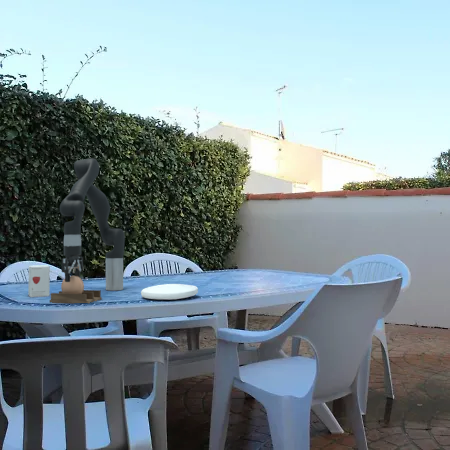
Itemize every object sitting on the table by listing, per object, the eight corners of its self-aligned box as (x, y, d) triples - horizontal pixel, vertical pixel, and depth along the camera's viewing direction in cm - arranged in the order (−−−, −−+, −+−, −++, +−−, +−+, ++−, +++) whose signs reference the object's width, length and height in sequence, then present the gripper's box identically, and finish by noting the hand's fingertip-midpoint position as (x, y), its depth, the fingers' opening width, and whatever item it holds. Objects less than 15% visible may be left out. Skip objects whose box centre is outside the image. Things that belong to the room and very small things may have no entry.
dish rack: (66, 298, 229) (66, 289, 229) (101, 299, 225) (101, 290, 225) (49, 302, 215) (49, 293, 215) (86, 303, 211) (86, 294, 211)
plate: (181, 292, 213) (129, 290, 223) (182, 307, 213) (130, 304, 223) (206, 279, 239) (159, 278, 249) (207, 292, 239) (160, 290, 249)
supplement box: (30, 297, 233) (30, 266, 233) (28, 295, 241) (28, 265, 241) (49, 296, 237) (49, 265, 237) (47, 294, 245) (47, 264, 245)
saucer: (64, 298, 220) (64, 275, 220) (84, 299, 217) (84, 275, 217) (60, 299, 217) (60, 275, 217) (80, 300, 214) (80, 276, 215)
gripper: (73, 244, 225) (73, 279, 225) (56, 245, 211) (56, 282, 211) (88, 244, 223) (88, 279, 223) (71, 245, 210) (71, 282, 209)
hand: (72, 280), depth 217 cm, fingers open, 8 cm apart
